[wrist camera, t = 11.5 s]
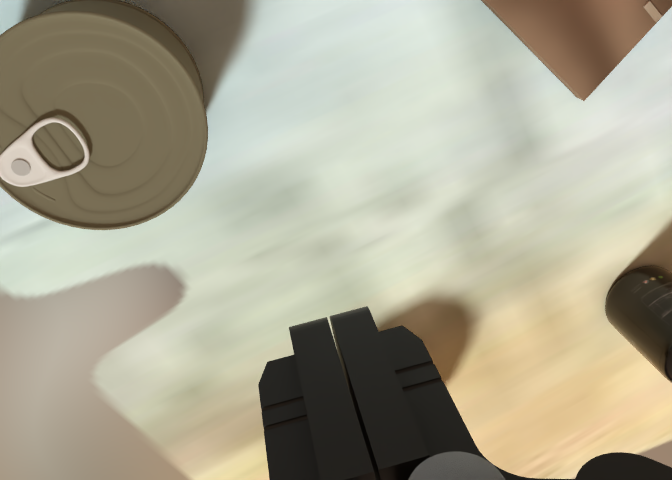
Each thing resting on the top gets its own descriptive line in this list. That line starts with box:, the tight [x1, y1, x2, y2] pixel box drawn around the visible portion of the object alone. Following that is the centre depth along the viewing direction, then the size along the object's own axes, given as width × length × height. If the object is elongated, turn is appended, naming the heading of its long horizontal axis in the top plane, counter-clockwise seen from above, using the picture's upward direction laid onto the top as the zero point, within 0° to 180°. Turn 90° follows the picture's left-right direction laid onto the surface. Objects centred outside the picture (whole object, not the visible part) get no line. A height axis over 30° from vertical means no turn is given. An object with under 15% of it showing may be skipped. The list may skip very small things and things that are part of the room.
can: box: [0, 0, 208, 230], centre depth 35 cm, size 12×12×7 cm
